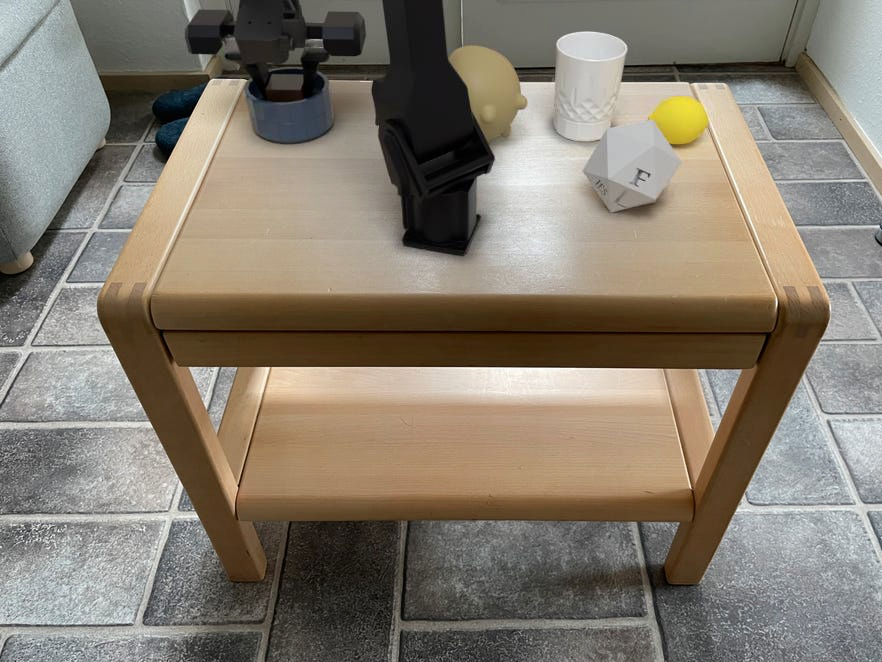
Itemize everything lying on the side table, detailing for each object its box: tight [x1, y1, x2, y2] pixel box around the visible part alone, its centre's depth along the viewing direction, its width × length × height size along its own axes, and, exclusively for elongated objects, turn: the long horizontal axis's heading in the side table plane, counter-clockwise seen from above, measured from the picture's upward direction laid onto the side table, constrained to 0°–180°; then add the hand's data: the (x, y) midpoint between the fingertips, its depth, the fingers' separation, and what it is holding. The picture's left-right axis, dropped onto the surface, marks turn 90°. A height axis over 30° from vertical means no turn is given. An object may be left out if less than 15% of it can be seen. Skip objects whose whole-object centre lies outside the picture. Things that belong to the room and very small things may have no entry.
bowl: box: [243, 66, 335, 144], centre depth 88 cm, size 10×10×5 cm
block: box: [265, 74, 305, 103], centre depth 87 cm, size 4×4×4 cm
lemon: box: [647, 95, 710, 145], centre depth 86 cm, size 7×5×5 cm
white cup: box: [553, 31, 628, 143], centre depth 86 cm, size 8×8×10 cm
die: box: [582, 119, 683, 213], centre depth 76 cm, size 8×9×10 cm
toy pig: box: [448, 45, 529, 143], centre depth 85 cm, size 10×12×11 cm
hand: (290, 106), depth 88 cm, fingers closed on block, 4 cm apart
